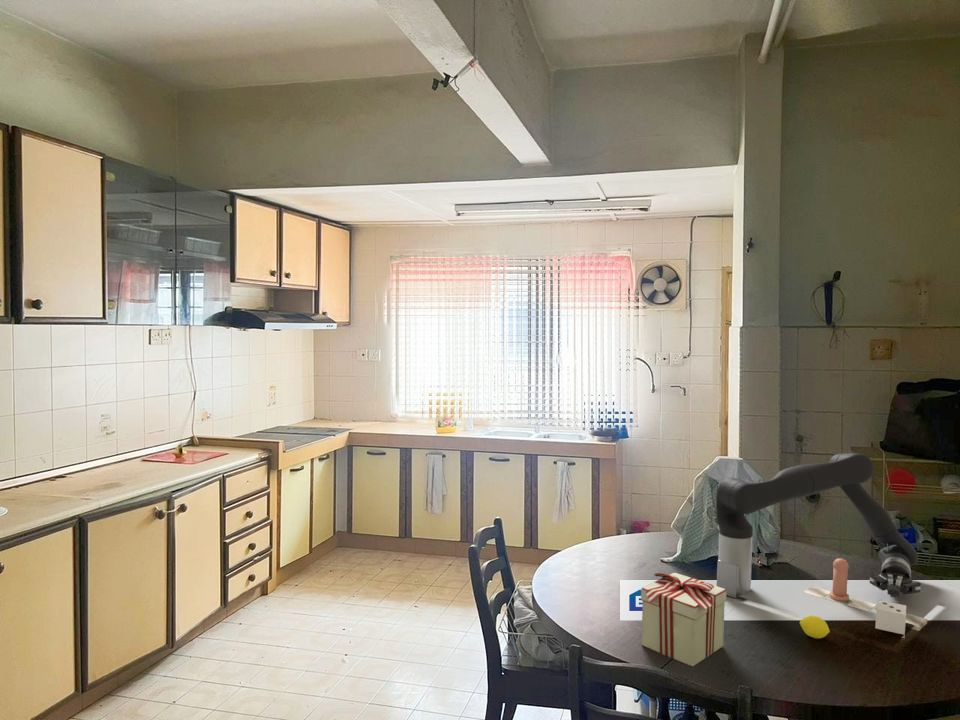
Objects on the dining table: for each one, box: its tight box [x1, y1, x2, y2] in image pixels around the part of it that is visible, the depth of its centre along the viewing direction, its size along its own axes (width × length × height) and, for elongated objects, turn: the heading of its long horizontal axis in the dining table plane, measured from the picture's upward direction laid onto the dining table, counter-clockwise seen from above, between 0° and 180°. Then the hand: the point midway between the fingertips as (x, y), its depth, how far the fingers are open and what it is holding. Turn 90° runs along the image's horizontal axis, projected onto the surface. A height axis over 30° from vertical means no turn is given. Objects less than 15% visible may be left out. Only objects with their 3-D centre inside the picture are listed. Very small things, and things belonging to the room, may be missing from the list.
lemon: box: [799, 615, 831, 639], centre depth 182 cm, size 7×5×5 cm
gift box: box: [640, 572, 727, 667], centre depth 174 cm, size 17×18×17 cm
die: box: [875, 599, 907, 639], centre depth 185 cm, size 6×6×7 cm
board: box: [803, 586, 928, 632], centre depth 199 cm, size 7×30×1 cm, turn 43°
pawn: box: [829, 557, 850, 602], centre depth 203 cm, size 5×5×12 cm
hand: (893, 593), depth 194 cm, fingers closed
